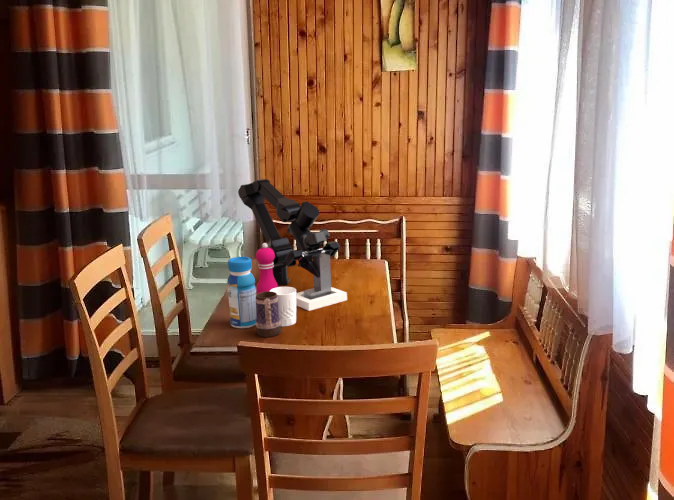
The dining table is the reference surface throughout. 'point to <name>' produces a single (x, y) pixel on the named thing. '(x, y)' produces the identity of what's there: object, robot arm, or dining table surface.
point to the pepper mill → (265, 269)
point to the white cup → (286, 304)
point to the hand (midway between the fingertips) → (324, 275)
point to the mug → (267, 314)
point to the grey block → (324, 281)
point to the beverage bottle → (241, 293)
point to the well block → (320, 299)
